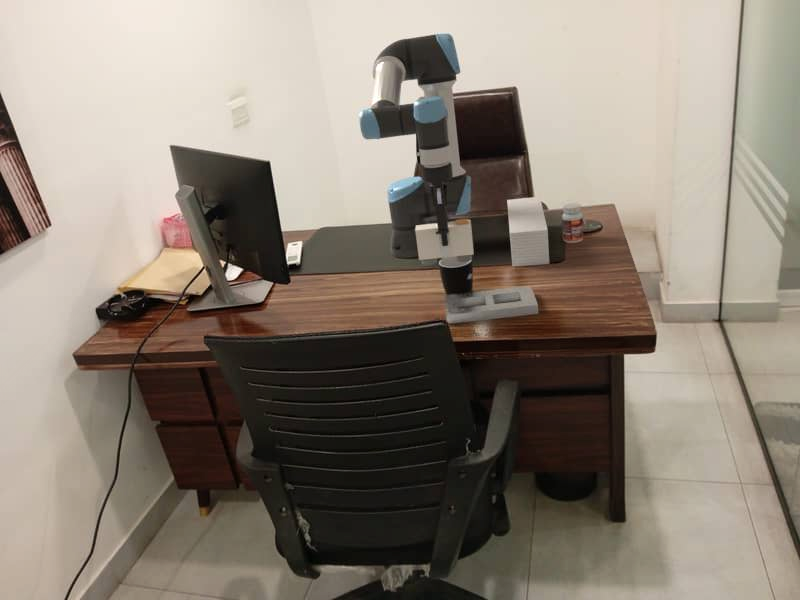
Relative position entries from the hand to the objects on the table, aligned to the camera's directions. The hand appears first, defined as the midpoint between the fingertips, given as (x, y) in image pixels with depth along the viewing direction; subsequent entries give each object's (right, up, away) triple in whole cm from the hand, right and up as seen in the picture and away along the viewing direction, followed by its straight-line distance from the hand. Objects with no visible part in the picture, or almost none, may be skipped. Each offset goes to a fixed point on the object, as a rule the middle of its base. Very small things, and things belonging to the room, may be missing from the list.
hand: (446, 253), depth 172 cm
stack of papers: (+28, +5, +38) cm, 48 cm away
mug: (+5, -10, +14) cm, 18 cm away
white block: (0, -2, +1) cm, 2 cm away
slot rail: (+12, -14, +2) cm, 18 cm away
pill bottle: (+42, +6, +37) cm, 56 cm away
